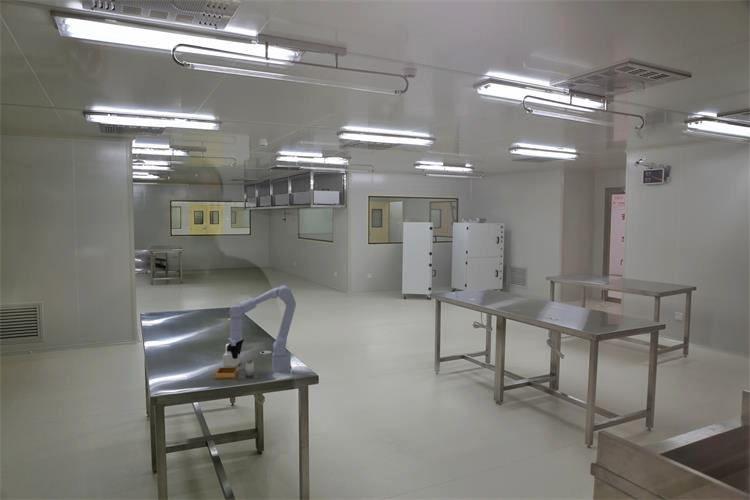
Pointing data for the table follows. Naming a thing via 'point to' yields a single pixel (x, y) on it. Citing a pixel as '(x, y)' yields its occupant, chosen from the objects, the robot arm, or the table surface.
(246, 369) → the canister
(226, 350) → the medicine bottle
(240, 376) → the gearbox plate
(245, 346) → the table surface
